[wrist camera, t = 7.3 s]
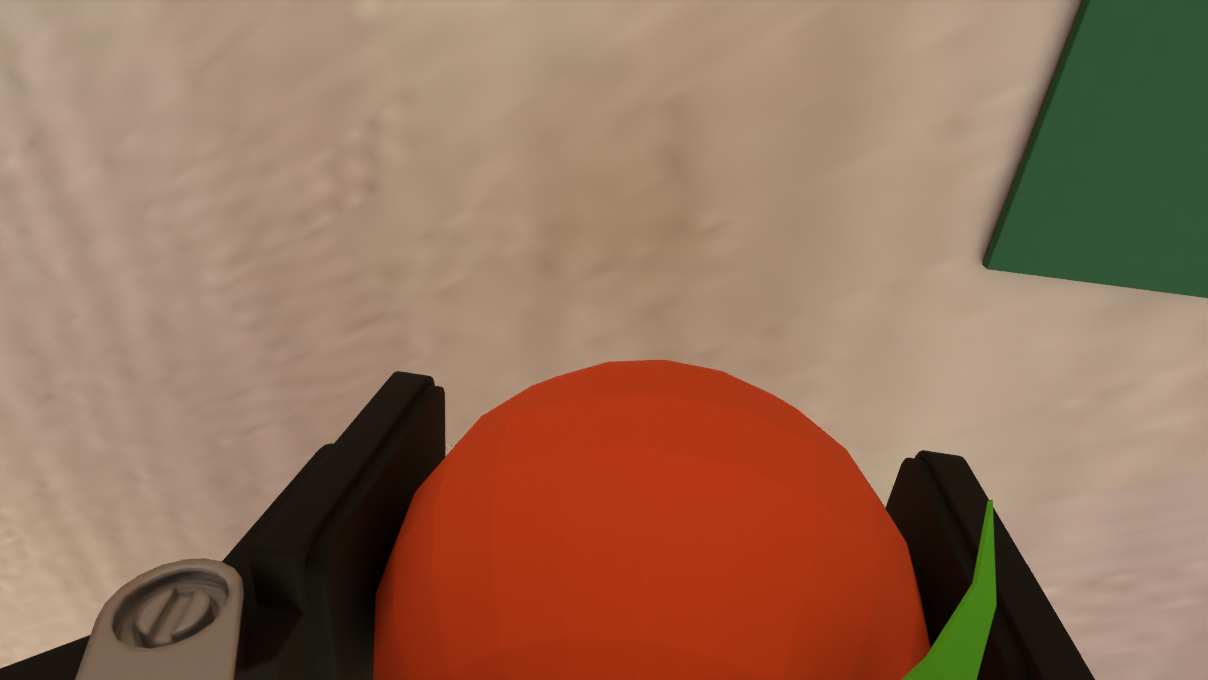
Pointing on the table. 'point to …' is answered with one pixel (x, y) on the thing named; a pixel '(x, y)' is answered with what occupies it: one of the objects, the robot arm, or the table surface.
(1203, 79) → the cloth
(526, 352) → the table surface
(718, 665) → the clementine
